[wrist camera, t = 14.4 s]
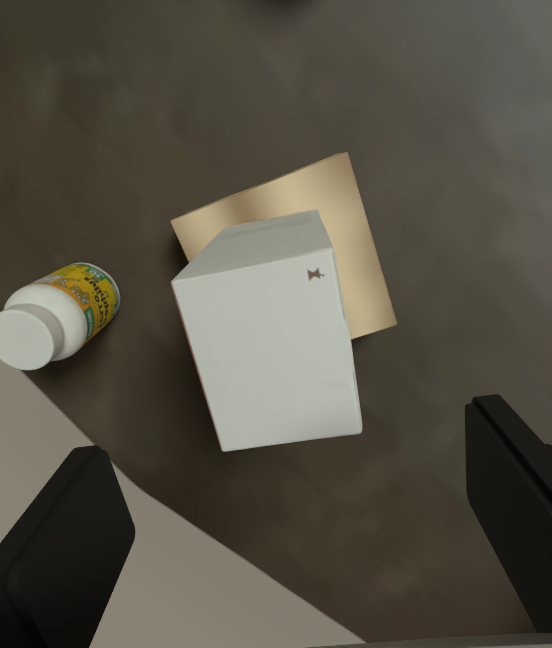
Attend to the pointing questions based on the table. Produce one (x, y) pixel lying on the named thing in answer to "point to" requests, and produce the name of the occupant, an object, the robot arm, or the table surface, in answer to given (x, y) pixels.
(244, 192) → the birch block
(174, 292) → the small box
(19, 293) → the supplement bottle
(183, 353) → the table surface
